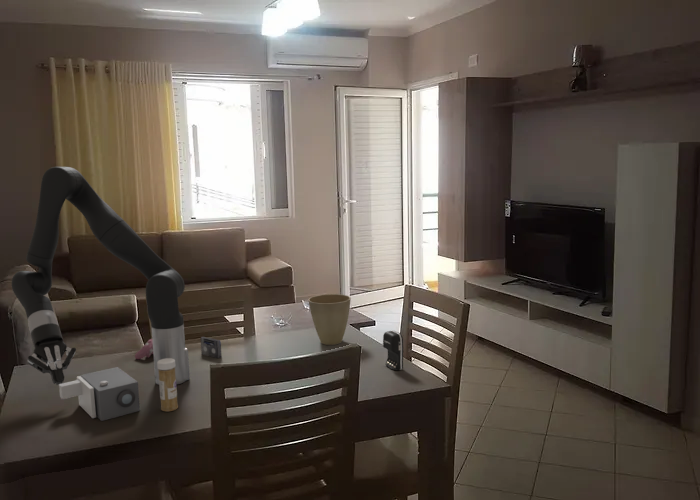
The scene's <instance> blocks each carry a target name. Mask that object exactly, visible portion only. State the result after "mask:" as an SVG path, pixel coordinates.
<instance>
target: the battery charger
mask: <svg viewBox="0 0 700 500" xmlns="http://www.w3.org/2000/svg"><path fill="white" fill-rule="evenodd" d="M382 347H383V348H385V349H386V350H387V359H386V360H385V367H387V368H389V369H390V370H393V371H402V370H403V369H404V338H403V335H402V333H400V332H398V331H396V330H389V331H385V332H384V333H383V337H382Z"/></svg>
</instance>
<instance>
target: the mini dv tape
mask: <svg viewBox="0 0 700 500" xmlns="http://www.w3.org/2000/svg"><path fill="white" fill-rule="evenodd" d="M200 350H201V351H200V352H201V354H200V355H203V356H206V357H212V358H214V359H220V358H222V356H223V355H222V342H221V340H219V339H215V338H210V337H205V336H201V337H200Z"/></svg>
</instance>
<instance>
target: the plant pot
mask: <svg viewBox="0 0 700 500" xmlns="http://www.w3.org/2000/svg"><path fill="white" fill-rule="evenodd" d="M351 299H352V298H351V296H349V295H347V294H346V295H345V294H339V293H338V294H337V293H328V294H319V295H314V296H311V297H309V298H308V299H307V300H308V305H309V309H310V314H311V317H312V323H313V325H314V328H315V331H316V334H317V336H318V339H319V341H320V343H321V344H323V345H325V346H335V345H339V344H341V343H342V342H343V339H344V335H345V332H346V329H347V326H348V321H349V316H350V315H349V314H350V308H351V307H350V306H351Z"/></svg>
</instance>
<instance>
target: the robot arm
mask: <svg viewBox="0 0 700 500" xmlns="http://www.w3.org/2000/svg"><path fill="white" fill-rule="evenodd" d="M66 200H67V201H68V202H69V203H70V204H71V205H73V206H74V207H75V208H76V209H77V210H79V212H80V213H81V215H83V217H84V219H85V221H86V222H87V224H88V226H89V228H90V230H91V232H92V234H93V236H94V237H95V238H96V239H97V240H98V242H99V243H100V244H101V245H102V246H104V248H105V249H106V250H107V251H108V252H109V253H111V254H112V255H113V256H114V257H116V258H118V259H119V260H120V261H121V260H122V261H123V262H125V263H127V264H128V265H130V266H131V267H133V268H135V269H136V270H138V271H139V272H140V273H141V274H142V275H143V276H144V277H145V278H146V279H147V282H146V285H145V299H146V301H145V302H146V308H147V315H148V319H149V321H150V323H151V324H150V326H151V336H152V338H151V339H152V341H153V354H152V355H153V365H154V366H153V367H154V380H155V384H156V385H158V386H159V370H158V367H157V362H158V361H159V360H161V359H166V358H172V359H174V360H175V377H176V386H177V385H179V384H182V383H185V382H186V381H189V380H191V376H190V374H191V373H190V362H189V360H190V359H189V349H188V347H186V341H185V339H186V337H185V324H184V323H185V321H184V315H183V313H181V312H180V309H179V300H178V299H179V298H180V297H181V296H182V295H183V293H184V291H185V281H184V277H183V276H182V275H181V274H180V273H179V272H178V271H177V270H176V269H175V268H173V267H172V266H171V265H169V263H167V262H166V261H165V260H164V259H162V258H161V256H159V255H158V254H157V253H156V252H155V251H153V249H152V248H151V247H150V246H149V245H148V244H147V243H146V242H145V241H144V240H143V238H141V236H140V235H138V233H137V232H136V231H135V230H134V229H133V228H132V227H131V226H130V225H129V223H127V221H125V220H124V219H123V218H122V217H121V215H119V214H118V213H117V212H116V211H115V210H114V209H113V208H112V207H111V206H110V205H109V204H108V203H107V202H105V200H104V199H102V197H101V196H99V194H98V193H97V192H96V191H95V190H94V188H93V187H92V185H90V182H88V181H87V179H86V178H85V176H84V175H82V173H81V172H80V171H79V170H77V169H76V168H74V167H70V166H52V167H50V168H48V169H47V170H46V171H45V172H44V173H43V175H42V178H41V183H40V191H39V199H38V201H39V202H38V209H37V214H36V221H35V225H34V229H33V232H32V237H31V239H30V242H29V246H28V248H27V249H28V250H27V253H26V256H25V257H26V262H27V263H28V264H30V265H32V266H34V267H38V271H31V270H30V271H29V270H20V271H17V272H16V273H15V274H14V275H13V276H12V278H11V289H12V292H13V294H14V295H15V297H16V298H17V300H18V301H19V302H20V304H21V306H22V307H23V308H24V310H25V314H26V318H27V325H28V331H29V334H30V337H31V341H32V345H33V353H32V355H28V357H27V361H26V362H27V364H28V365H30V366H32V368H34V369H36V370H37V371H39V372H41V373H42V374H47V373H48V374H50V377H51V381H52V383H53V384H55V385H56V386H59V384H62V383H65V382H64V381H65V374H64V371H63V370H67V369H68V367H69V365H70V364H71V362H72V359H73V358H74V357H75V355H76V351H77V349H76V347H72V348H71V347H69V346H68V345H67V344H66V343H65V342H64V339H63V338H64V337H63V336H62V332H61V328H60V325H59V322H58V318H57V316H56V314H55V311H54V307H53V305H52V301H51V299H50V298H49V297H47V296H46V295H47V294H48V293H49V292H50V290H51V289H52V284H53V275H52V274H53V261H54V256H55V254H56V251H57V247H58V244H59V237H60V232H59V231H60V230H59V222H60V221H59V220H60V214H61V210H62V208H63V205H64V203H65V201H66ZM65 353H66V358H65V360H64V361H63V362H62V358H63V357H64V354H65Z"/></svg>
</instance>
